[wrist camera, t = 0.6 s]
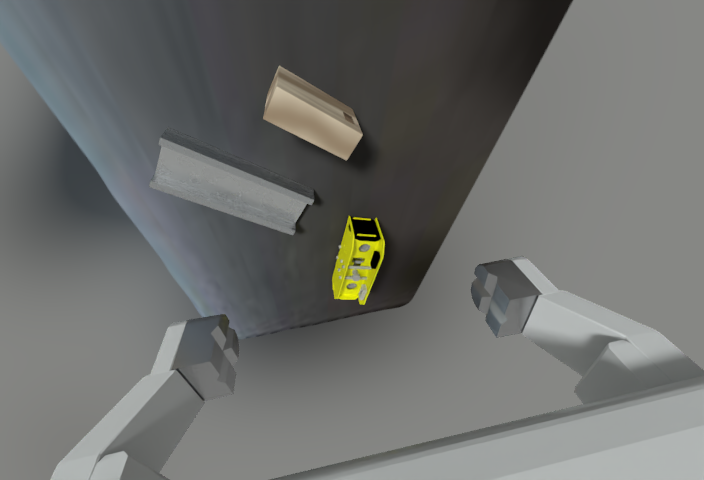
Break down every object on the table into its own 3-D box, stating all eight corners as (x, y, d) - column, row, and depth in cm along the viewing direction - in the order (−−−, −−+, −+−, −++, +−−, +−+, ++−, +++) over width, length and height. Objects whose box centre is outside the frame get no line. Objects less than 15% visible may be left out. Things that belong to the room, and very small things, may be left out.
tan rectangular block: (279, 64, 34) (277, 85, 29) (352, 108, 39) (363, 134, 33) (267, 94, 36) (262, 119, 30) (338, 132, 41) (346, 160, 35)
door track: (167, 127, 37) (160, 137, 35) (313, 188, 46) (314, 200, 44) (156, 174, 41) (149, 186, 39) (292, 223, 50) (292, 235, 48)
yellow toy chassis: (357, 276, 62) (364, 310, 56) (330, 275, 61) (334, 310, 54) (378, 215, 52) (390, 249, 46) (346, 212, 50) (353, 246, 44)
